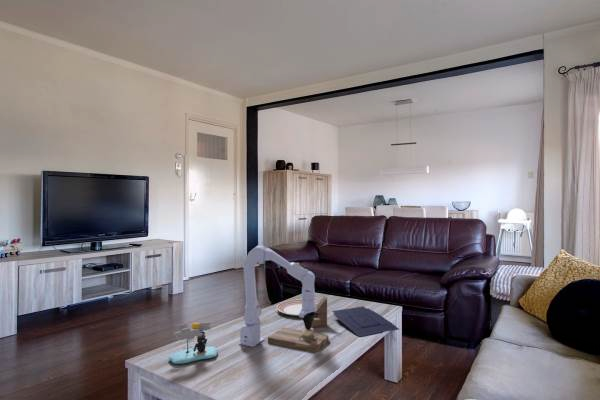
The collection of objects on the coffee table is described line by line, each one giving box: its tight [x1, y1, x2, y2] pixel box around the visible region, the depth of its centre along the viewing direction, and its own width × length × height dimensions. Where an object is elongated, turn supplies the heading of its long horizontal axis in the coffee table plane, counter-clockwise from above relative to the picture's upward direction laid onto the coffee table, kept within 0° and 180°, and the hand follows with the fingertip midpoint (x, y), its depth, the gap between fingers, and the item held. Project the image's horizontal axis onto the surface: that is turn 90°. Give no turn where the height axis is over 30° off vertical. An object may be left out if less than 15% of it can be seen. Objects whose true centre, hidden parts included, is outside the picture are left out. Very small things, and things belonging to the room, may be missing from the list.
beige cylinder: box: [301, 327, 315, 340], centre depth 169 cm, size 5×5×6 cm
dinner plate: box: [276, 299, 320, 317], centre depth 217 cm, size 27×27×3 cm
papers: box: [331, 305, 400, 338], centre depth 196 cm, size 24×30×4 cm
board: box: [267, 327, 329, 353], centre depth 172 cm, size 14×24×2 cm, turn 64°
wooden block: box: [311, 296, 328, 328], centre depth 193 cm, size 4×11×18 cm, turn 113°
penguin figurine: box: [168, 321, 219, 365], centre depth 155 cm, size 20×11×15 cm, turn 113°
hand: (308, 328), depth 169 cm, fingers closed
